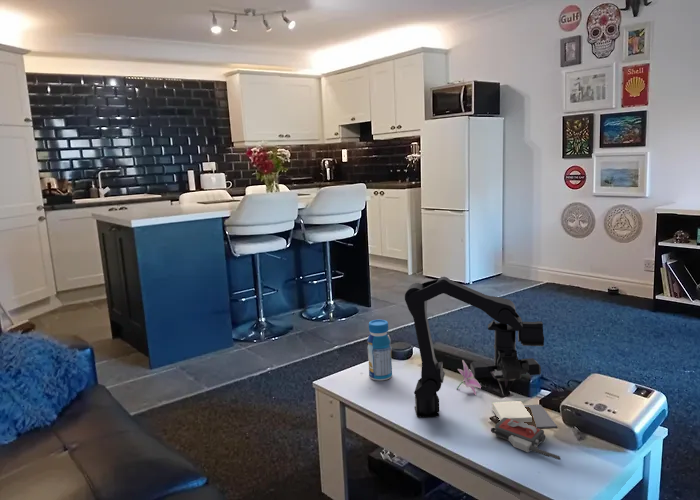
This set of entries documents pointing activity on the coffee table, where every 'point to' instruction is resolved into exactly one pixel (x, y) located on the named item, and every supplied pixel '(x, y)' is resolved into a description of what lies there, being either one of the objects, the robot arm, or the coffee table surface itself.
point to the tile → (511, 411)
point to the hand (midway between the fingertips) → (505, 395)
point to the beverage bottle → (379, 351)
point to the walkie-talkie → (521, 435)
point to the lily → (469, 378)
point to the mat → (541, 417)
